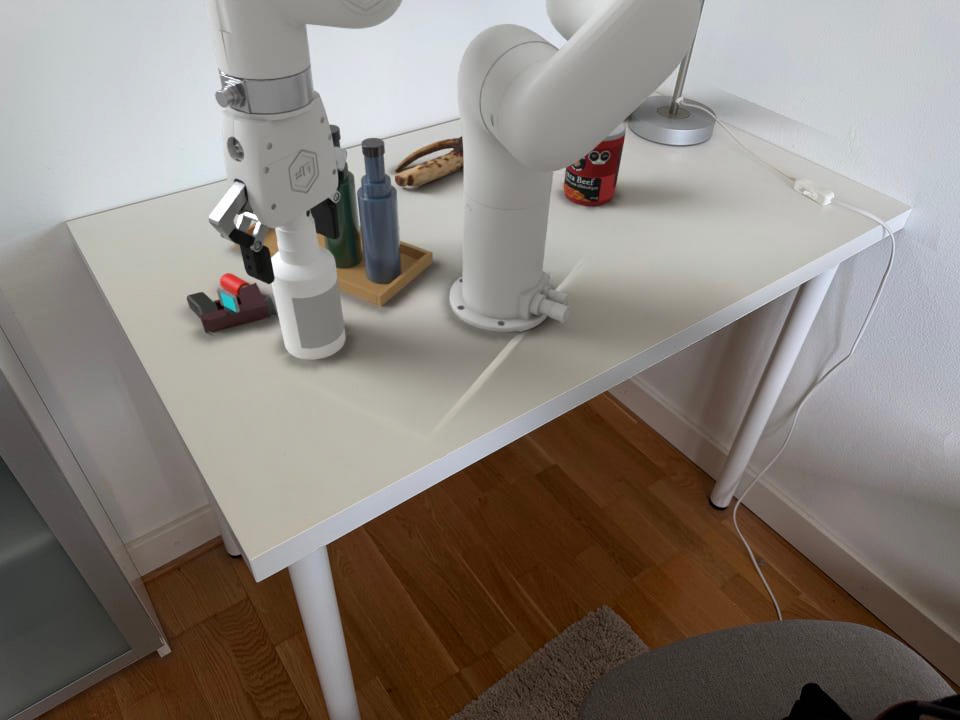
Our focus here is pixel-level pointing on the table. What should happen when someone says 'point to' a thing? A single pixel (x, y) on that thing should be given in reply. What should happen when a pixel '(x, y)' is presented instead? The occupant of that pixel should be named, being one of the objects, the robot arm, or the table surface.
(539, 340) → the table surface
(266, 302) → the toy gun
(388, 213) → the slate bottle
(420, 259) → the tray
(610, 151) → the canned food
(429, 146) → the lashed bone hook
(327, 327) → the spray bottle
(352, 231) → the green bottle
